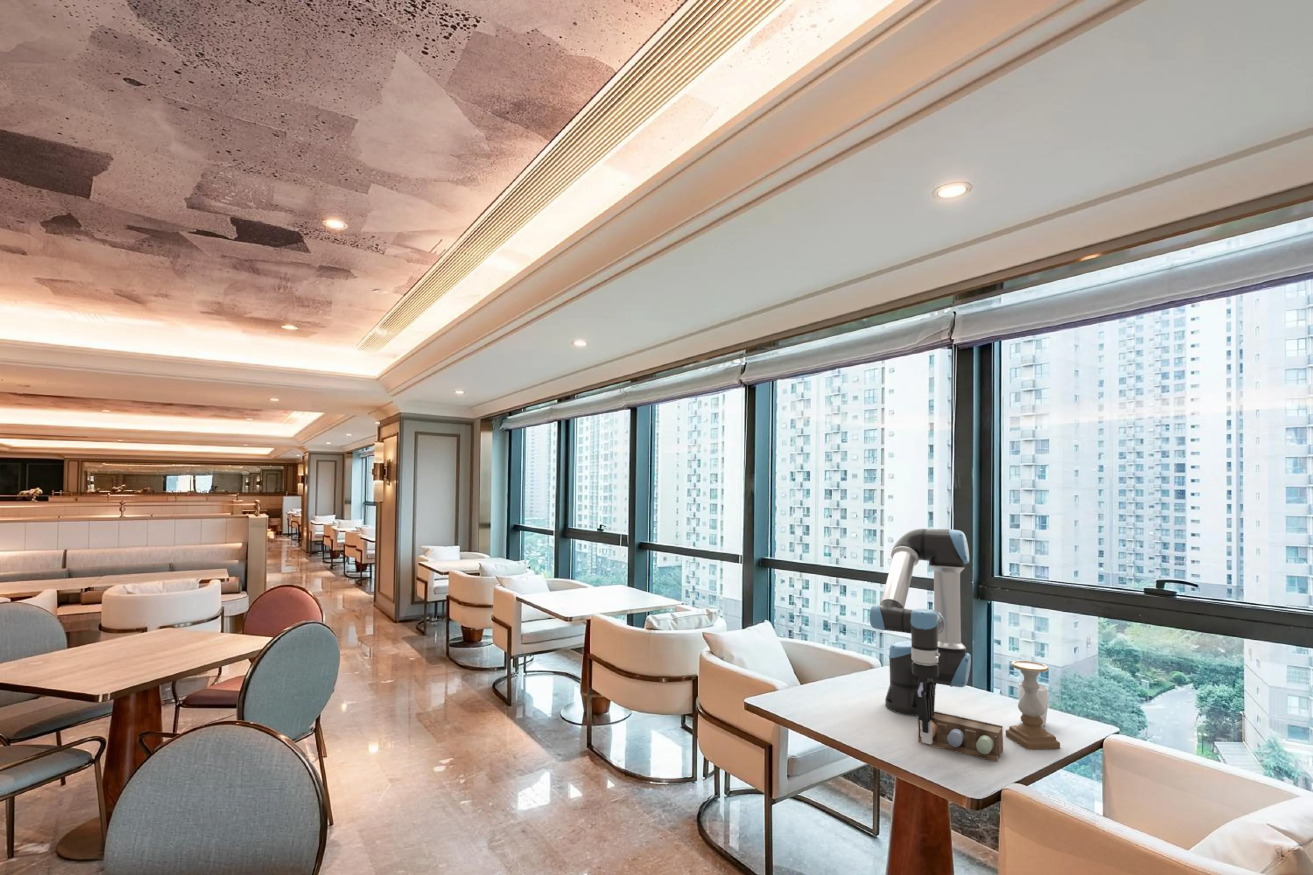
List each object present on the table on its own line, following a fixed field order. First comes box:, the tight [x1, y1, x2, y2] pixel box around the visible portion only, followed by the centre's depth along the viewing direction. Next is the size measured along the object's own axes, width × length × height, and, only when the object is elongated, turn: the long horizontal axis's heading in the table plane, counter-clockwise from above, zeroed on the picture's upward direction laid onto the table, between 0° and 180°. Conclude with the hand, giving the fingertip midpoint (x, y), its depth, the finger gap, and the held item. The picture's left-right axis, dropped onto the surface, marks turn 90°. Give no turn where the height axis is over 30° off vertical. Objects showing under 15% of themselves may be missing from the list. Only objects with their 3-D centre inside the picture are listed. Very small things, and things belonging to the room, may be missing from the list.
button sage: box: [976, 735, 994, 754], centre depth 187 cm, size 4×4×4 cm
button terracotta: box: [932, 722, 937, 738], centre depth 198 cm, size 4×4×4 cm
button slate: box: [947, 729, 964, 747], centre depth 192 cm, size 4×4×4 cm
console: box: [917, 710, 1004, 763], centre depth 196 cm, size 22×10×7 cm, turn 52°
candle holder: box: [1005, 659, 1061, 751], centre depth 200 cm, size 11×11×24 cm
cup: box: [1017, 682, 1050, 727], centre depth 216 cm, size 9×9×12 cm
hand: (927, 742), depth 190 cm, fingers closed
